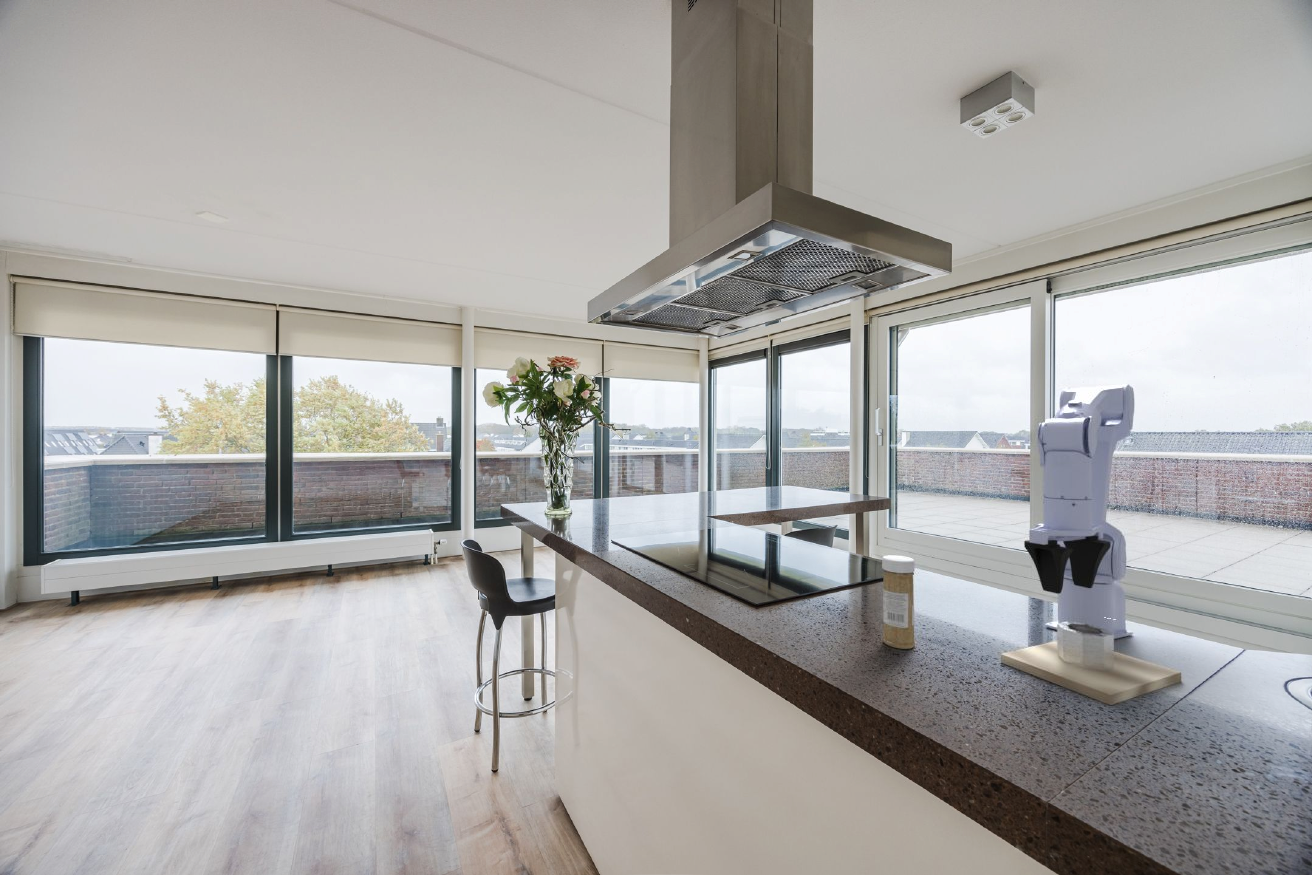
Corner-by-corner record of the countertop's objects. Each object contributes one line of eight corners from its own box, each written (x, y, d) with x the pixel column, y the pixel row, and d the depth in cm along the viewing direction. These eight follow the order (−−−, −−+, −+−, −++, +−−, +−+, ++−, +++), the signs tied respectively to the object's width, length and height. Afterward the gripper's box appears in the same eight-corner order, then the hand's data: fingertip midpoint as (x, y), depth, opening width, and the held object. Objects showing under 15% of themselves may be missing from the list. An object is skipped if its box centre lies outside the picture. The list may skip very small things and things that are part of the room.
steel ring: (1074, 651, 74) (1073, 619, 74) (1120, 666, 69) (1120, 632, 69) (1050, 657, 72) (1050, 625, 72) (1096, 673, 67) (1096, 638, 67)
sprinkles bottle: (921, 645, 79) (920, 558, 79) (904, 652, 76) (903, 561, 77) (893, 636, 83) (892, 553, 83) (876, 642, 80) (875, 556, 80)
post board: (1069, 645, 79) (1068, 608, 79) (1181, 681, 67) (1180, 637, 67) (1000, 662, 73) (1000, 622, 73) (1110, 705, 61) (1110, 656, 61)
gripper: (1066, 494, 83) (1067, 578, 83) (1007, 497, 78) (1008, 587, 78) (1119, 498, 77) (1120, 589, 77) (1059, 501, 71) (1060, 600, 71)
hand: (1067, 589), depth 77 cm, fingers open, 7 cm apart
